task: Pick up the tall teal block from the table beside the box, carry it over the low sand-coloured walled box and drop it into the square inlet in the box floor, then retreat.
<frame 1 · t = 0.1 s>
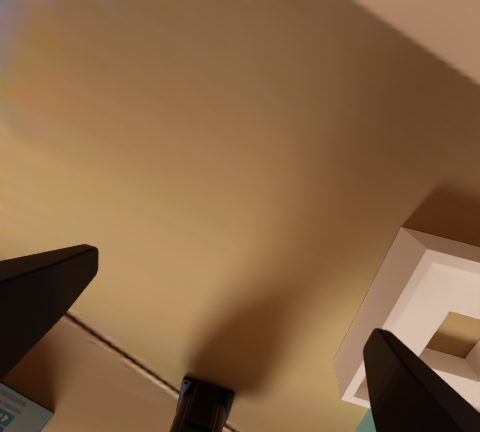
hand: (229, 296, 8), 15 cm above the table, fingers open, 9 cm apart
tall teal block: (380, 424, 29), on the table
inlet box: (448, 326, 23), on the table
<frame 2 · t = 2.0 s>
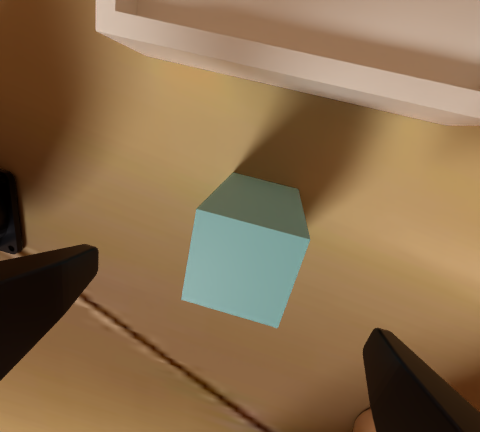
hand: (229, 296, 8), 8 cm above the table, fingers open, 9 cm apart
tall teal block: (257, 211, 16), on the table
beer glass: (391, 427, 21), on the table
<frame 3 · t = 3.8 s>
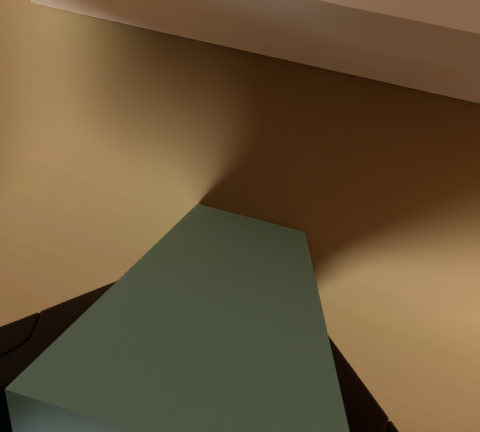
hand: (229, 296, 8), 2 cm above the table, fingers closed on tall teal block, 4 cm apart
tall teal block: (238, 263, 10), on the table, touching gripper
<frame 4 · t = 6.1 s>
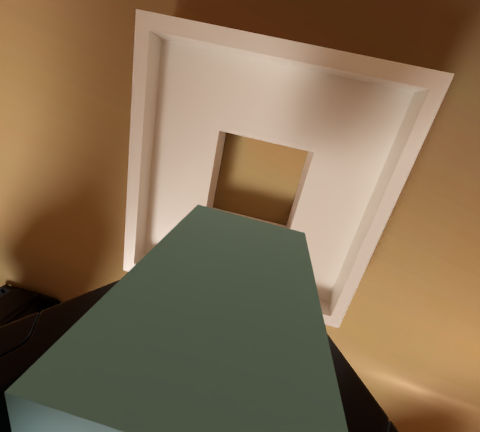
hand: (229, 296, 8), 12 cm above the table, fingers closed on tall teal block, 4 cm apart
tall teal block: (238, 264, 10), point 10 cm above the table, touching gripper
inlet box: (257, 180, 19), on the table
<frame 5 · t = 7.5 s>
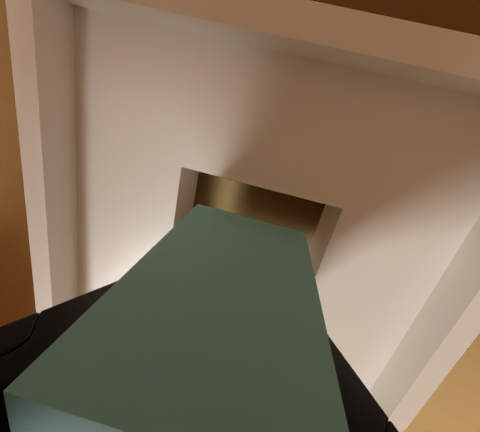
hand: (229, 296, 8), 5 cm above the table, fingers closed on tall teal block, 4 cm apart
tall teal block: (238, 264, 10), point 3 cm above the table, touching gripper
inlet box: (249, 232, 13), on the table
when the fingers open (3 cm above the table, at t = 8.5 s): tall teal block drops 2 cm, resting in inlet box.
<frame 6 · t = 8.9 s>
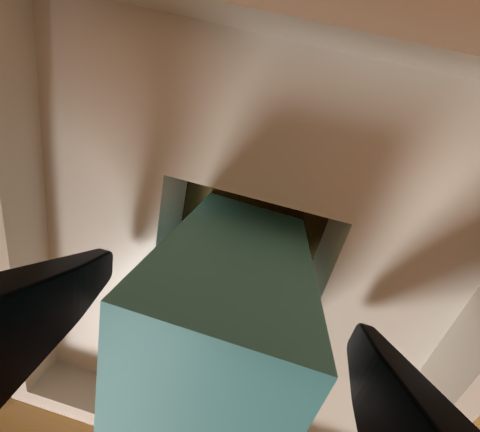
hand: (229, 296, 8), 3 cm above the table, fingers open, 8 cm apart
tall teal block: (244, 246, 11), resting in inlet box
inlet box: (244, 246, 11), on the table
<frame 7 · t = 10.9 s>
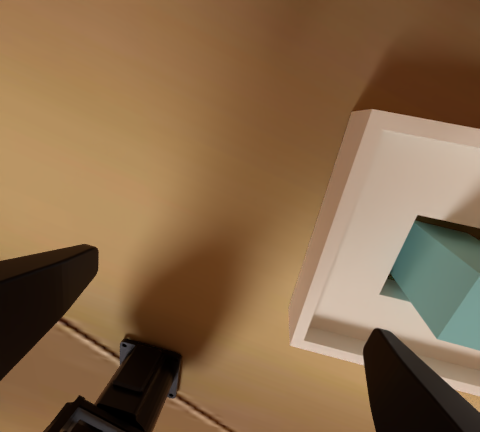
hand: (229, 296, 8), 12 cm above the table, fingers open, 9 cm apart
tall teal block: (424, 250, 18), resting in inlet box
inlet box: (424, 249, 18), on the table
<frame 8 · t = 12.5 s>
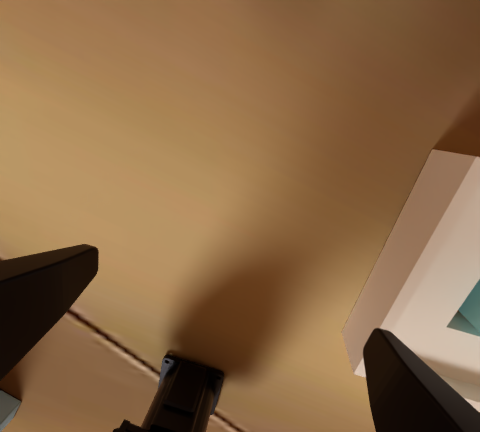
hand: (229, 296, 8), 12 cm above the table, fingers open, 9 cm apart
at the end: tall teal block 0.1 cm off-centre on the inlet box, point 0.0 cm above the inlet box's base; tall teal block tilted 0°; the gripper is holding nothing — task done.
